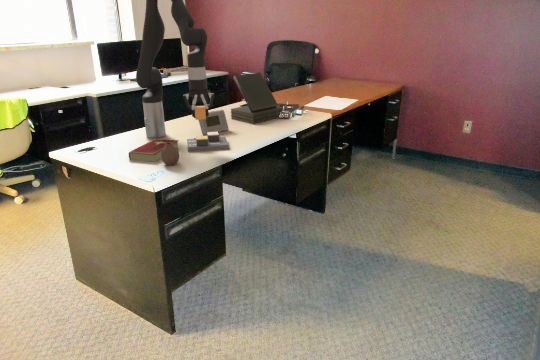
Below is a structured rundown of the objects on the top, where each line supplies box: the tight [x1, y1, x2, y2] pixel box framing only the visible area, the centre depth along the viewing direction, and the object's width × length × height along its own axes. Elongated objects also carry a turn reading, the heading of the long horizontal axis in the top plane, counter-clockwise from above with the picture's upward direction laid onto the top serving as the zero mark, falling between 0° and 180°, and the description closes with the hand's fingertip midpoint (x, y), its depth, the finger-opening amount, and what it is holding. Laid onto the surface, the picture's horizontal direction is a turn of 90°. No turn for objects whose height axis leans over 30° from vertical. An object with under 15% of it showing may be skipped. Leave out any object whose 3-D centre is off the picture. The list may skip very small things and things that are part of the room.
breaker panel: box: [186, 136, 230, 153], centre depth 191 cm, size 18×14×3 cm
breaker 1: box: [195, 135, 208, 146], centre depth 187 cm, size 5×5×3 cm
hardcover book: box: [128, 138, 179, 163], centre depth 182 cm, size 12×21×4 cm, turn 163°
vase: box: [161, 143, 180, 167], centre depth 167 cm, size 7×7×9 cm
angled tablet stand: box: [230, 71, 283, 125], centre depth 239 cm, size 23×20×25 cm
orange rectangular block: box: [194, 105, 206, 121], centre depth 182 cm, size 4×4×5 cm
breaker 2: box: [206, 132, 220, 141], centre depth 193 cm, size 5×5×3 cm
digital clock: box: [198, 109, 230, 136], centre depth 213 cm, size 16×9×11 cm, turn 120°
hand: (200, 117), depth 183 cm, fingers closed on orange rectangular block, 4 cm apart
